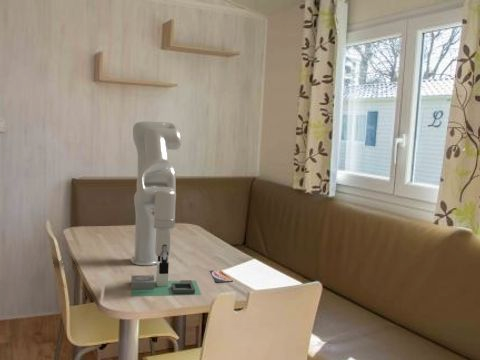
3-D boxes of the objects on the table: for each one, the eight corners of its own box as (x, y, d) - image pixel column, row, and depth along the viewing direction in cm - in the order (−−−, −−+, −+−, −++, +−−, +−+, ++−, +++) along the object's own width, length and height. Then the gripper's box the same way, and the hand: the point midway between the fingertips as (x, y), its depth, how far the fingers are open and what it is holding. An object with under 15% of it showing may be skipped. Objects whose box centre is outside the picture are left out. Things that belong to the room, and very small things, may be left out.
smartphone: (220, 269, 209) (234, 280, 195) (219, 271, 209) (233, 283, 195) (203, 270, 206) (216, 282, 192) (202, 272, 206) (215, 284, 192)
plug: (156, 282, 185) (156, 261, 184) (167, 282, 186) (167, 261, 185) (156, 286, 181) (157, 264, 180) (167, 286, 182) (168, 264, 181)
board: (131, 284, 185) (131, 273, 185) (195, 283, 190) (196, 273, 190) (131, 299, 170) (131, 288, 169) (201, 298, 175) (201, 287, 174)
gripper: (152, 219, 188) (151, 263, 190) (154, 228, 172) (153, 276, 173) (172, 219, 190) (171, 263, 192) (176, 228, 173) (175, 276, 175)
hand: (162, 269), depth 182 cm, fingers open, 9 cm apart
